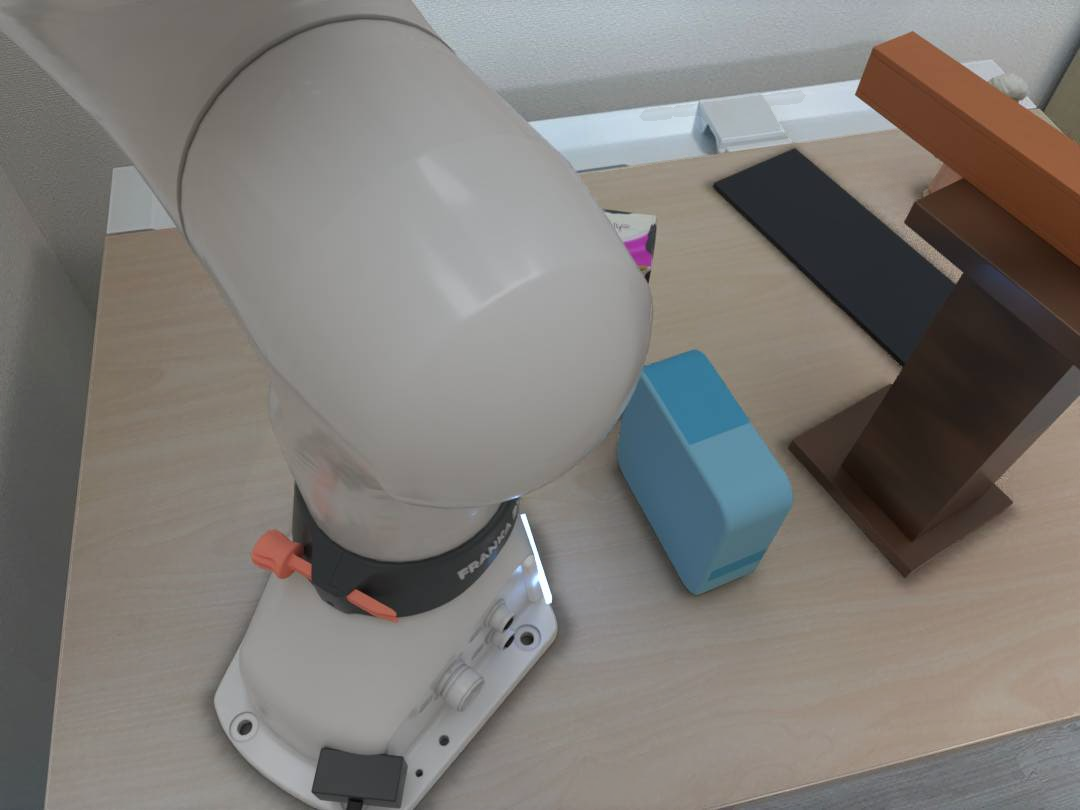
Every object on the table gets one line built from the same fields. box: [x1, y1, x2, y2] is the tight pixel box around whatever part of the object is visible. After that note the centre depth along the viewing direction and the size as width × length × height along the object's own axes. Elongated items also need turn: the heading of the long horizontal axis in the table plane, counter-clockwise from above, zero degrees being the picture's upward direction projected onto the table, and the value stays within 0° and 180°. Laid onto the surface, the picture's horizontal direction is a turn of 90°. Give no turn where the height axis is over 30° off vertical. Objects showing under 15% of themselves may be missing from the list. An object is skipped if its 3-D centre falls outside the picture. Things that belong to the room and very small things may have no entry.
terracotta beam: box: [854, 31, 1080, 267], centre depth 42 cm, size 20×3×3 cm, turn 32°
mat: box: [712, 147, 956, 368], centre depth 73 cm, size 26×10×1 cm, turn 32°
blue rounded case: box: [616, 349, 794, 596], centre depth 54 cm, size 12×4×12 cm, turn 23°
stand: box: [787, 178, 1080, 578], centre depth 51 cm, size 12×10×24 cm
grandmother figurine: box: [921, 72, 1029, 198], centre depth 73 cm, size 8×4×13 cm, turn 121°
